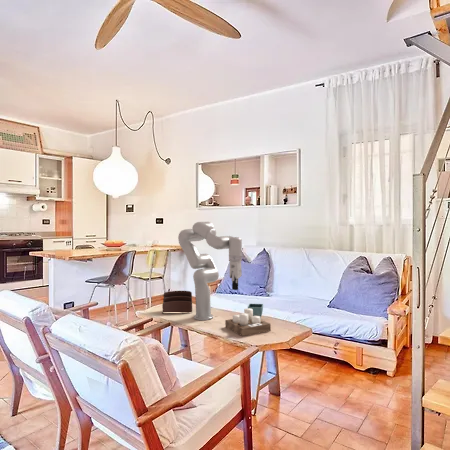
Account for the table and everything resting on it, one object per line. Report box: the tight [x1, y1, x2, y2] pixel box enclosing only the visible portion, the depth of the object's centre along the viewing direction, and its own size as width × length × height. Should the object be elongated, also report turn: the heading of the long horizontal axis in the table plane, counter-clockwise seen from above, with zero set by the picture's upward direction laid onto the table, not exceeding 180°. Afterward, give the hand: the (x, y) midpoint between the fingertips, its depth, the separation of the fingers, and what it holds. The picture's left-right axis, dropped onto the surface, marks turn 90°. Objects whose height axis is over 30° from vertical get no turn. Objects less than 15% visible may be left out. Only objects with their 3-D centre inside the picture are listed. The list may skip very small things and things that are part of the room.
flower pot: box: [247, 303, 264, 320], centre depth 217 cm, size 9×9×9 cm
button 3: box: [243, 307, 253, 321], centre depth 205 cm, size 5×5×6 cm
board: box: [224, 318, 272, 337], centre depth 199 cm, size 20×18×4 cm
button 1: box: [232, 314, 240, 323], centre depth 202 cm, size 5×5×6 cm
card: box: [248, 323, 262, 327], centre depth 192 cm, size 4×7×1 cm, turn 117°
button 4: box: [252, 316, 261, 324], centre depth 198 cm, size 5×5×6 cm
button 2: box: [238, 312, 249, 327], centre depth 195 cm, size 5×5×6 cm
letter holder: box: [161, 290, 193, 313], centre depth 241 cm, size 10×20×14 cm, turn 93°
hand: (235, 289), depth 203 cm, fingers closed
